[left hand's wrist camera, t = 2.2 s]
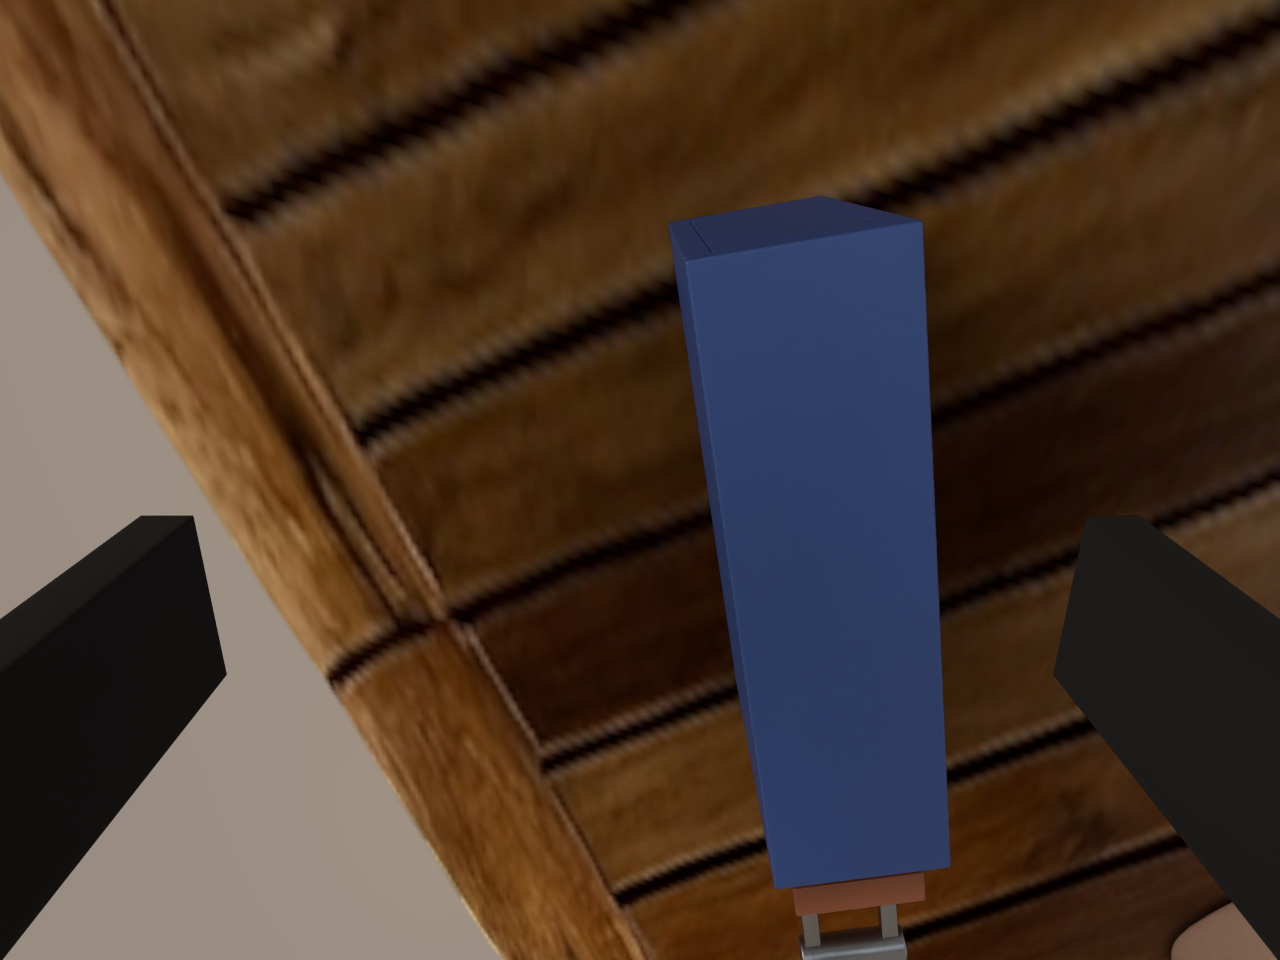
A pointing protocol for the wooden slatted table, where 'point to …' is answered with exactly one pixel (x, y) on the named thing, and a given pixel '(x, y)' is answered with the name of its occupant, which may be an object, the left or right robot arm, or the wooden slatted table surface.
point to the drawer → (861, 952)
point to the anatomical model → (1221, 939)
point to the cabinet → (824, 524)
